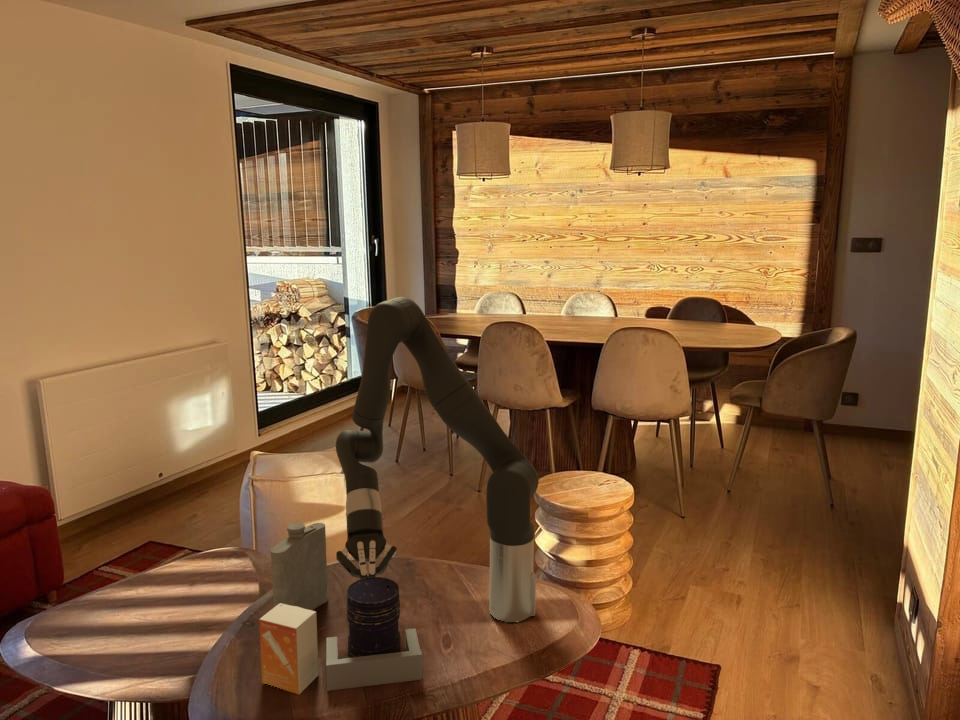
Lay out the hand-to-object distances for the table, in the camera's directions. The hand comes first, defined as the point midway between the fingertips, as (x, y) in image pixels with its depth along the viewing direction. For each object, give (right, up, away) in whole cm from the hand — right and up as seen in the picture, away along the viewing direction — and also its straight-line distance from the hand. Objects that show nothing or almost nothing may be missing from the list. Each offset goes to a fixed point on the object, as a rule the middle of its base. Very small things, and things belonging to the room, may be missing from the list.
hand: (369, 595), depth 146 cm
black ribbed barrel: (+2, -10, -8) cm, 13 cm away
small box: (-12, -11, -14) cm, 22 cm away
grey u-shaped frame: (+2, -10, -10) cm, 15 cm away
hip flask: (-16, -7, +9) cm, 19 cm away
